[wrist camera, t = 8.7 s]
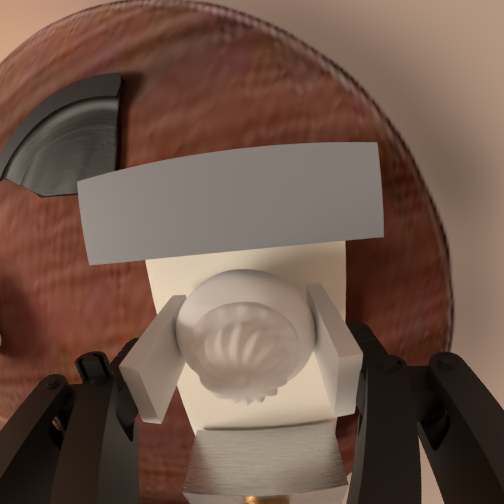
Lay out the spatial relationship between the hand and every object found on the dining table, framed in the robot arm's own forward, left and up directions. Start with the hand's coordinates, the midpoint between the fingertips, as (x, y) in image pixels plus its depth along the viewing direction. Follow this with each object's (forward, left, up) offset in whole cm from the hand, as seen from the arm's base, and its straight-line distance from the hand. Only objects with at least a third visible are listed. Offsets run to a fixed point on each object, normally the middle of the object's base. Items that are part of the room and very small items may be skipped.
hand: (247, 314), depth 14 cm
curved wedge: (+12, +13, -4) cm, 18 cm away
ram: (-12, 0, -1) cm, 12 cm away
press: (-4, 0, -3) cm, 5 cm away
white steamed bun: (0, 0, -1) cm, 1 cm away
